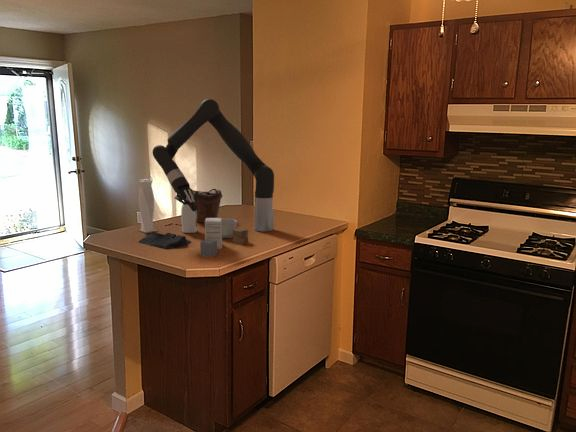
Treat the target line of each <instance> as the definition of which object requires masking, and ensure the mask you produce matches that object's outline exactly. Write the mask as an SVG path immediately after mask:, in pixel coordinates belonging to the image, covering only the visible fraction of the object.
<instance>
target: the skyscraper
mask: <svg viewBox="0 0 576 432" xmlns="http://www.w3.org/2000/svg"><path fill="white" fill-rule="evenodd" d="M138 184H139V191H138V208H139V214H140V218H141V223H140V224H141V225H140V229H138V232H141V233H144V234H151V233H157V232H159V230H158V229H156V228H155V225H154V224H153V216H154V210H155V197H154V191H153V186H152V184H153V177H152V176H149V177H148V178H143V179H142V178H140V179H139V180H138Z"/></svg>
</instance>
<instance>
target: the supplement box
mask: <svg viewBox="0 0 576 432" xmlns="http://www.w3.org/2000/svg"><path fill="white" fill-rule="evenodd" d="M222 219H223V218H222V217H217V218H206V219H205V222H204V240H206V239H209V240H216V241H217V250H218V249H219V250H220V249H222V247H223V238H222Z"/></svg>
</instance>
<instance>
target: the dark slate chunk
mask: <svg viewBox="0 0 576 432" xmlns="http://www.w3.org/2000/svg"><path fill="white" fill-rule="evenodd" d="M138 243H139V244H143V245H146V246H150V247H155V248H159V249H162V250H173V249H177V248H182V247H186V246H187V245H189V244H191V243H192V241H191V240H189V239H187V237H186V236H185V235H180V234H179V235H177V234H176V233H171V232H167V233H165V234H162V233H160V232H159V233H158V232H151V233H148V234H147V235H146V236H145V237H143V238H141V239H140V240H138Z"/></svg>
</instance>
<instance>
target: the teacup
mask: <svg viewBox="0 0 576 432" xmlns="http://www.w3.org/2000/svg"><path fill="white" fill-rule="evenodd" d="M237 222H238V220H236V219H234V218H222V239H230V238H233V230H235V229H238V228H237V225H238V224H237Z"/></svg>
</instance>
